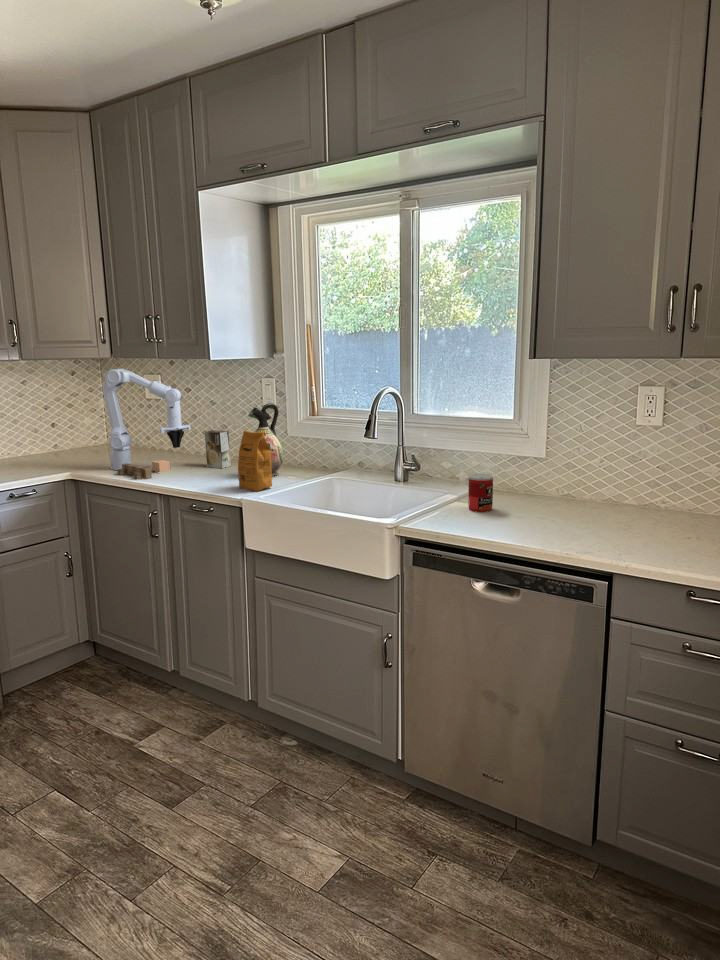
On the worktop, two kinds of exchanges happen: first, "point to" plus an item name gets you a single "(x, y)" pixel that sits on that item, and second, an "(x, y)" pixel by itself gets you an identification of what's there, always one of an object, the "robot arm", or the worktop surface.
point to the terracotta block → (161, 466)
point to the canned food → (480, 492)
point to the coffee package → (254, 462)
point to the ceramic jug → (269, 434)
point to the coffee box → (217, 449)
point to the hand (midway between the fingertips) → (176, 447)
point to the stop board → (135, 471)
